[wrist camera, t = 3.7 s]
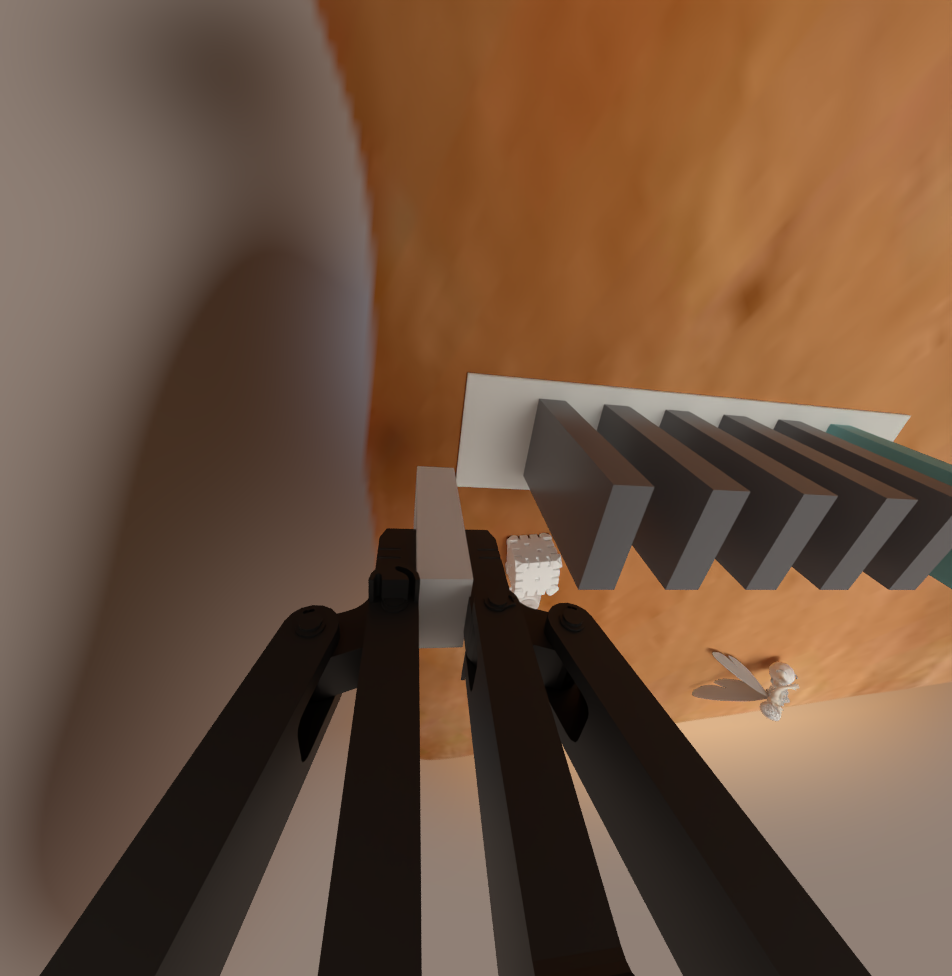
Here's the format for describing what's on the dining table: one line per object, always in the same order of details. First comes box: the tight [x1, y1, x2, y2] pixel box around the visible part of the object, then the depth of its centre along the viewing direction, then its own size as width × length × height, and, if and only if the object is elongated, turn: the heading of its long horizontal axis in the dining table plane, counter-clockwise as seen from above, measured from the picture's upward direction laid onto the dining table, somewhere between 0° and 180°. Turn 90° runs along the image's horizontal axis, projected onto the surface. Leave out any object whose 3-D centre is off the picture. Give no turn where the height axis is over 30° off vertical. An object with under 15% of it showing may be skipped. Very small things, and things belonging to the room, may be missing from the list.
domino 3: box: [659, 410, 838, 590], centre depth 21 cm, size 5×2×10 cm, turn 173°
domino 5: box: [773, 419, 952, 590], centre depth 22 cm, size 5×2×10 cm, turn 173°
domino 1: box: [523, 398, 654, 590], centre depth 20 cm, size 5×2×10 cm, turn 173°
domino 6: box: [826, 424, 952, 589], centre depth 23 cm, size 5×2×10 cm, turn 173°
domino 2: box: [597, 404, 751, 590], centre depth 20 cm, size 5×2×10 cm, turn 173°
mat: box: [456, 373, 910, 490], centre depth 26 cm, size 7×30×1 cm, turn 83°
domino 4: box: [718, 415, 918, 590], centre depth 22 cm, size 5×2×10 cm, turn 173°
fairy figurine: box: [692, 652, 799, 721], centre depth 38 cm, size 6×7×7 cm
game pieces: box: [505, 533, 562, 609], centre depth 30 cm, size 12×3×3 cm, turn 0°
